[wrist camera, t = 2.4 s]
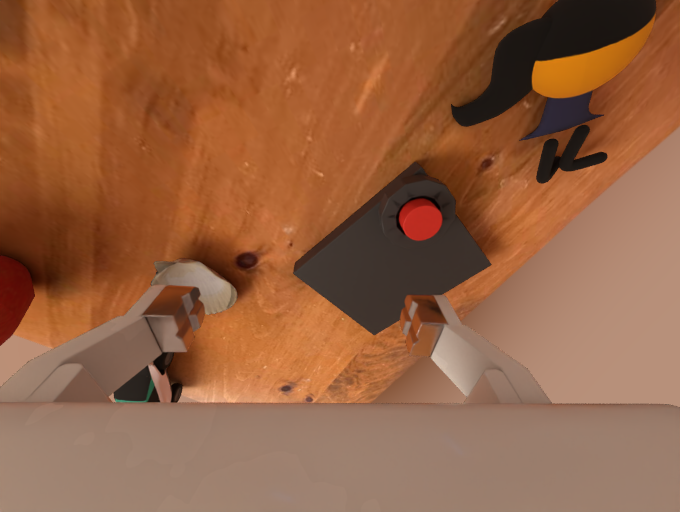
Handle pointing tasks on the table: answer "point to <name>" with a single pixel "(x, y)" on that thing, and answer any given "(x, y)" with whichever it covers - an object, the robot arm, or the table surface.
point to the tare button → (420, 219)
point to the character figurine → (563, 70)
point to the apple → (13, 295)
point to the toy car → (151, 384)
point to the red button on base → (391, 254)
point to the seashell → (197, 282)
